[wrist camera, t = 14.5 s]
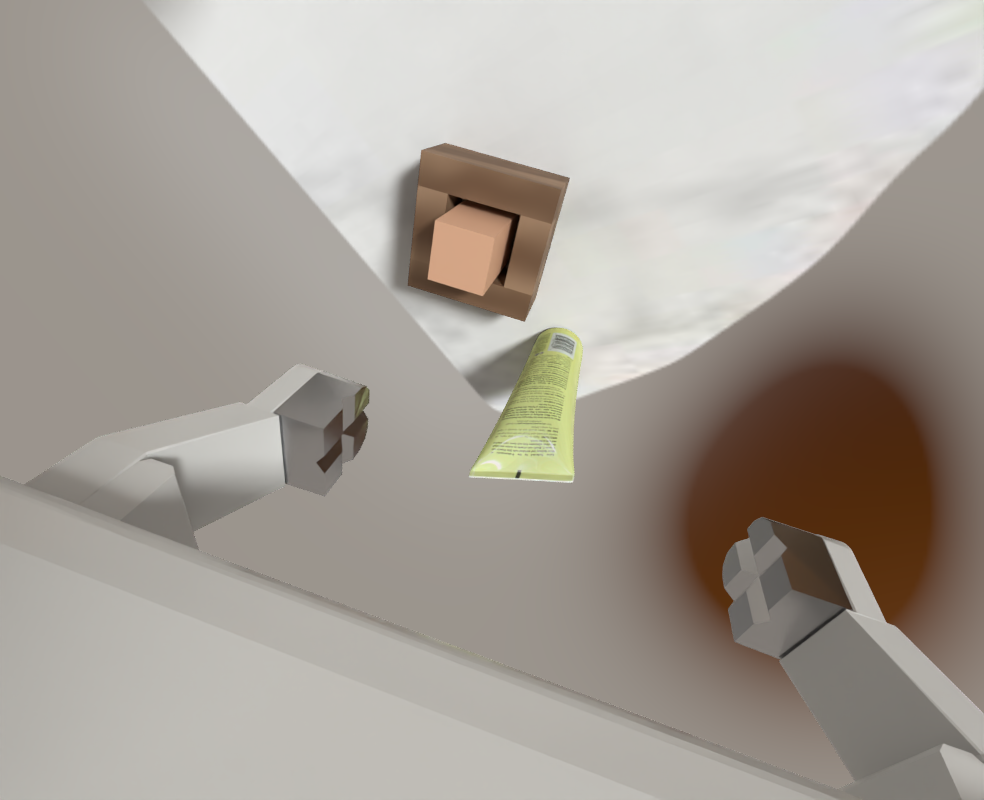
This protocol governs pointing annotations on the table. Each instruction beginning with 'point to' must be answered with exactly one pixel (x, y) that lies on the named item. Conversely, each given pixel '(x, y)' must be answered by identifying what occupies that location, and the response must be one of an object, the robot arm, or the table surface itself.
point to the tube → (537, 416)
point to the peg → (471, 246)
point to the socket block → (498, 185)
